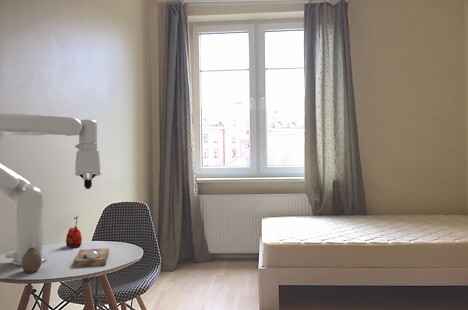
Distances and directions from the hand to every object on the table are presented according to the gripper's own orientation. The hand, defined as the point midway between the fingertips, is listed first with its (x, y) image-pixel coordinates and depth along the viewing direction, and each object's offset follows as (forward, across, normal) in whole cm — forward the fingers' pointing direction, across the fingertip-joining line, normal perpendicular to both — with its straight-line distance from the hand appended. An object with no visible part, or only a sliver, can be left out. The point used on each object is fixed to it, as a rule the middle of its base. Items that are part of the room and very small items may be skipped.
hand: (88, 188), depth 179 cm
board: (+29, +3, -11) cm, 31 cm away
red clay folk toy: (+29, -8, +16) cm, 34 cm away
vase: (+29, -18, -22) cm, 41 cm away
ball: (+27, +4, -16) cm, 31 cm away
